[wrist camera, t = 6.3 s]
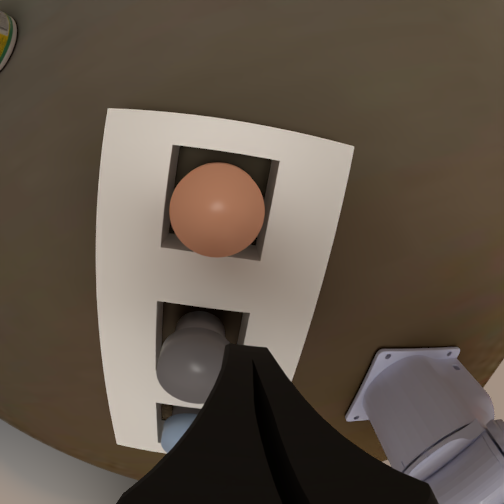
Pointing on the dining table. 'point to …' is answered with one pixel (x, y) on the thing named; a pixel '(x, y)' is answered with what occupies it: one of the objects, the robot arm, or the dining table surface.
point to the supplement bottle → (6, 37)
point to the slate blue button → (177, 425)
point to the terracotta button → (217, 210)
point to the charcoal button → (192, 357)
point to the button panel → (198, 266)
